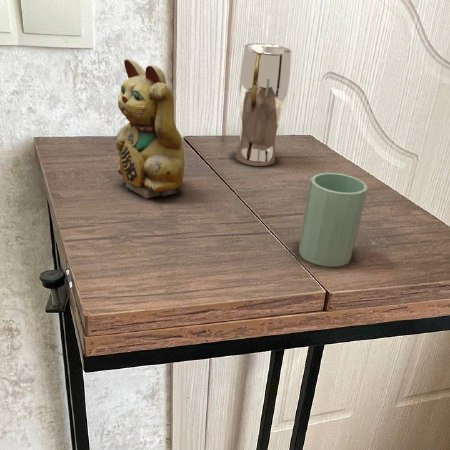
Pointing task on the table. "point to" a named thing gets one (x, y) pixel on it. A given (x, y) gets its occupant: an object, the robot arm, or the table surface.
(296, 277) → the table surface
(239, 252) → the table surface
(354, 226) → the cup
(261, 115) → the beer glass
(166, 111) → the decorative figurine
